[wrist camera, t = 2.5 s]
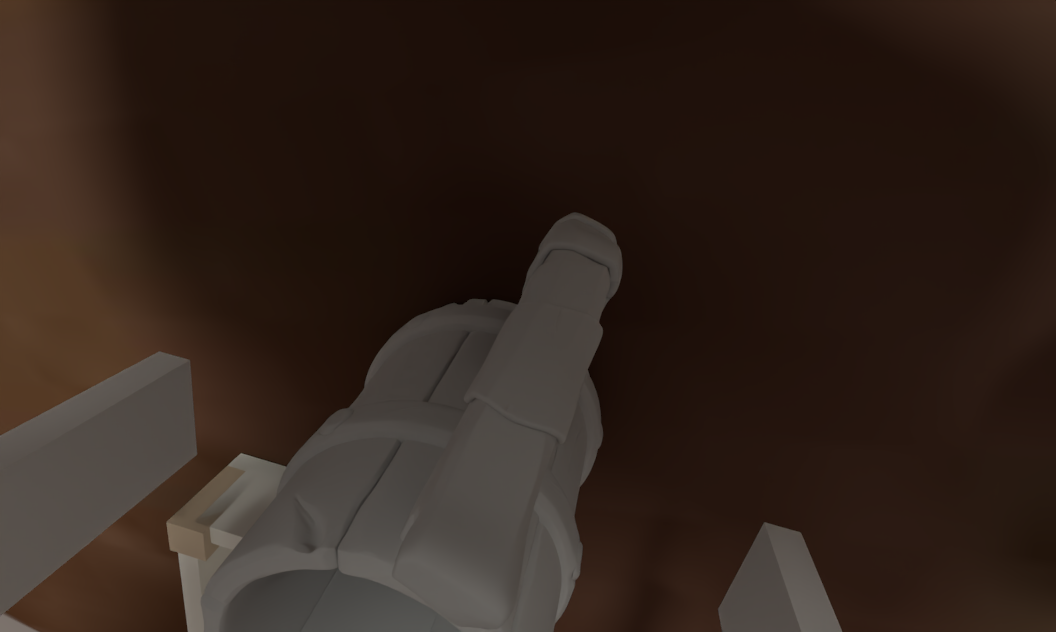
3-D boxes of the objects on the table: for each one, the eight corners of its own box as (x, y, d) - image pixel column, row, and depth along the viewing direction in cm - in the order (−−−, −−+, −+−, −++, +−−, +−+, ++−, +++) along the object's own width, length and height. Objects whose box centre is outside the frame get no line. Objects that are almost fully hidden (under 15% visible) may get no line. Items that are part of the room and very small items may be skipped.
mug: (362, 418, 19) (24, 827, 9) (488, 121, 14) (59, 197, 4) (539, 511, 20) (430, 1023, 9) (724, 250, 15) (1001, 693, 4)
